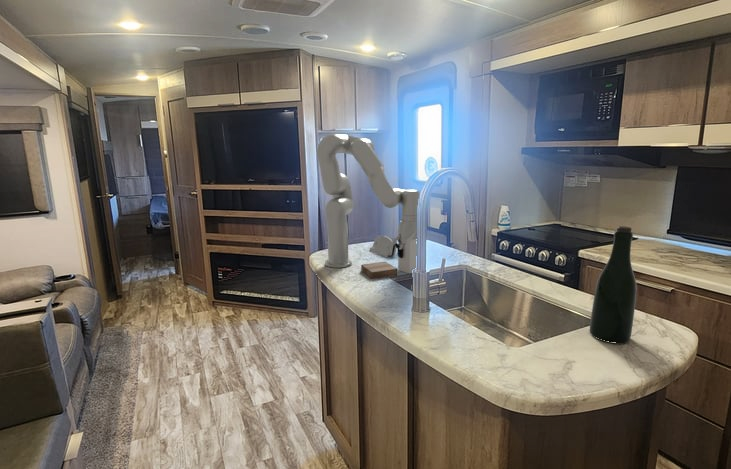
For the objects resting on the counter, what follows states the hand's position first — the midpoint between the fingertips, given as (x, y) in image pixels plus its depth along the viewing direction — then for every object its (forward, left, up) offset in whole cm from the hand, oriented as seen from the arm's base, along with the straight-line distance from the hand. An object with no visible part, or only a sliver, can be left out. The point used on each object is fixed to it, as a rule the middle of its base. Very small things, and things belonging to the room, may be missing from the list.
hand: (409, 256), depth 180 cm
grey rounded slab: (-31, +2, -7) cm, 32 cm away
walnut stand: (-2, -14, -7) cm, 16 cm away
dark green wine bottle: (+79, +23, -7) cm, 83 cm away
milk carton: (0, 0, -7) cm, 7 cm away
